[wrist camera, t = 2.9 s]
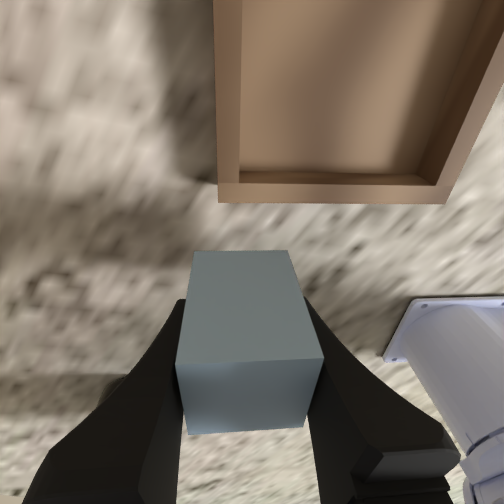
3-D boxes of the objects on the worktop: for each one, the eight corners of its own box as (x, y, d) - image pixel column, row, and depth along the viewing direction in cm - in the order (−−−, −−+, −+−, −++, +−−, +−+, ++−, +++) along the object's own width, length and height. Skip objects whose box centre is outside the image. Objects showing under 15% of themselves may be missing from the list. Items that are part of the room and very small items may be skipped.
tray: (551, -136, 10) (631, -185, 8) (419, 188, 16) (445, 204, 15) (210, -184, 9) (205, -256, 7) (218, 185, 15) (218, 202, 13)
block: (287, 250, 13) (324, 358, 8) (278, 314, 16) (302, 427, 11) (194, 251, 13) (174, 364, 8) (200, 317, 15) (188, 434, 10)
